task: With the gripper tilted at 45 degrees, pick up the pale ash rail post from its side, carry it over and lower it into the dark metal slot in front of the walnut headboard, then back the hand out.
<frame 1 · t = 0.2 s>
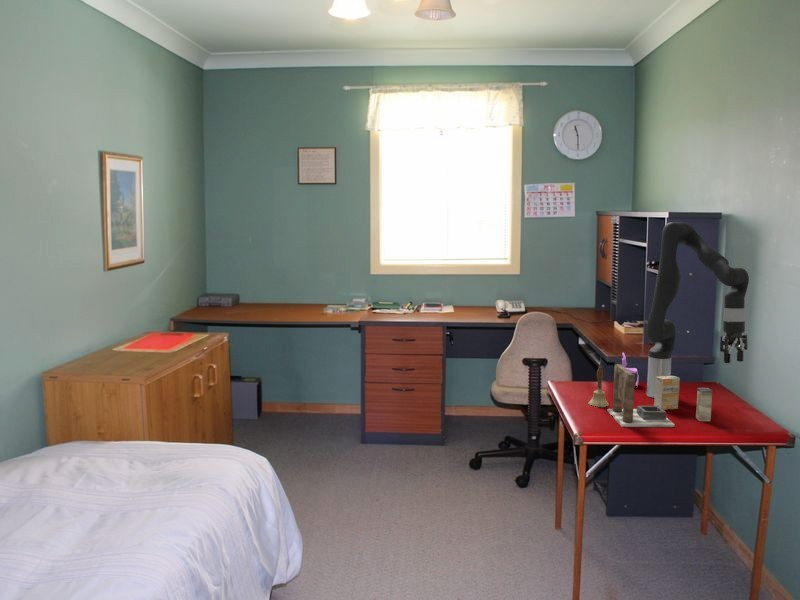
hand: (733, 362, 279), 22 cm above the table, tool pointing down, fingers open, 8 cm apart
toy chair: (628, 385, 333), on the table
rail post: (703, 419, 280), on the table
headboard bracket: (650, 419, 280), on the table
hand bell: (598, 404, 300), on the table
supplement box: (666, 408, 295), on the table
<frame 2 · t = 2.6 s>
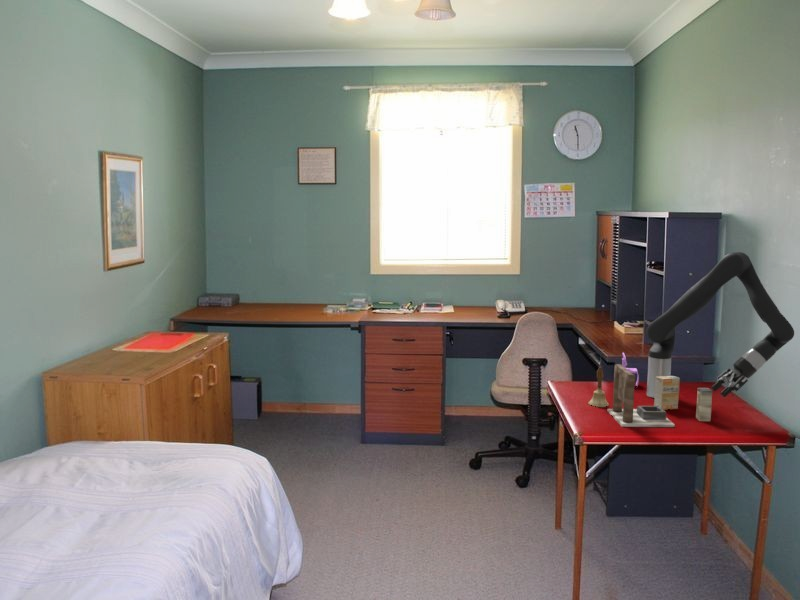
hand: (717, 392, 279), 11 cm above the table, tool tilted 45°, fingers open, 8 cm apart
nothing on the table moved.
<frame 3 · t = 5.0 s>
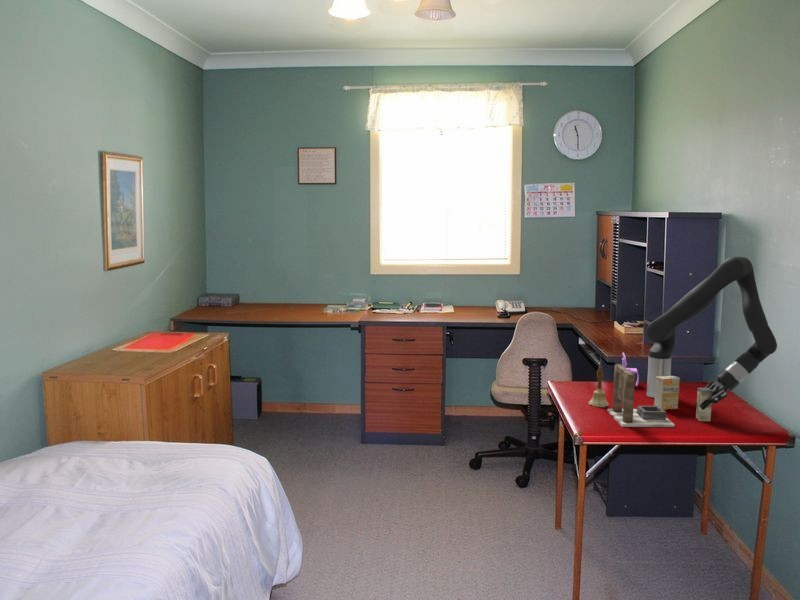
hand: (698, 406, 279), 5 cm above the table, tool tilted 45°, fingers closed on rail post, 4 cm apart
rail post: (703, 419, 280), on the table, touching gripper
everything else where it was.
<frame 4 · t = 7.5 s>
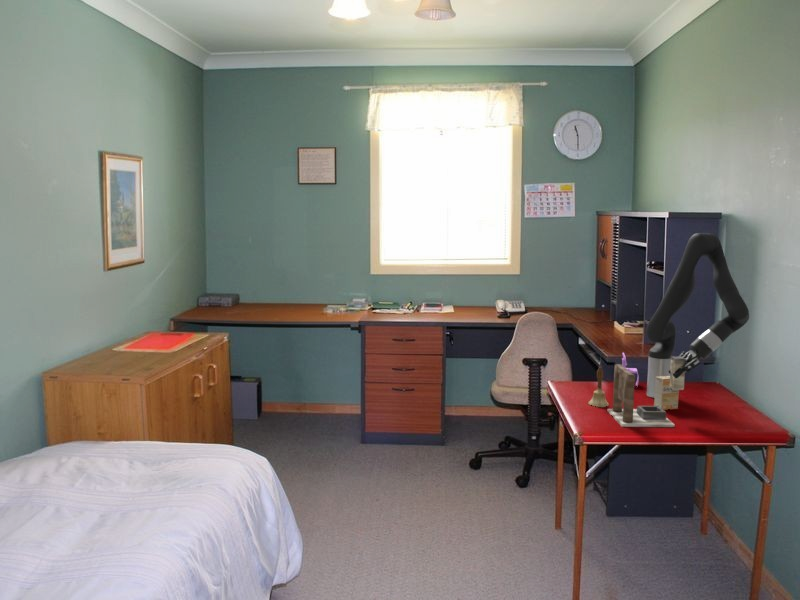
hand: (672, 375, 278), 17 cm above the table, tool tilted 45°, fingers closed on rail post, 4 cm apart
rail post: (676, 388, 279), point 12 cm above the table, touching gripper
everything else where it was.
when the fingers open (8 cm above the table, at t = 10.4 s): rail post drops 1 cm, resting on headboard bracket.
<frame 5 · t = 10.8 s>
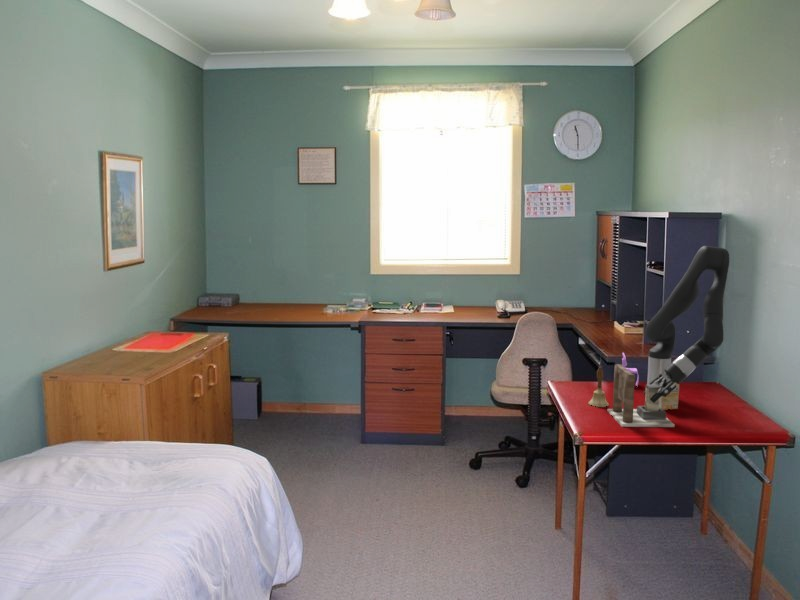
hand: (648, 398, 279), 8 cm above the table, tool tilted 45°, fingers open, 7 cm apart
rail post: (651, 416, 280), point 1 cm above the table, touching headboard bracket
everything else where it was.
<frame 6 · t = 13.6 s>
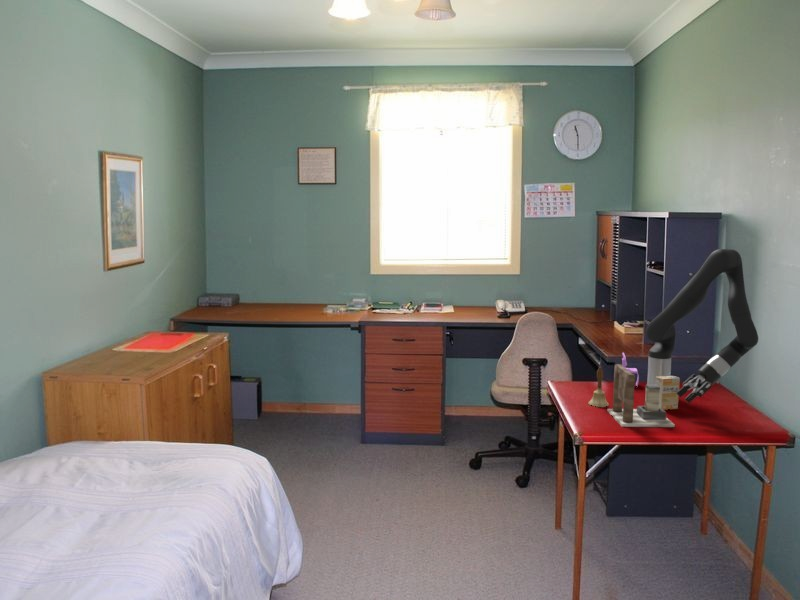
hand: (682, 398, 279), 8 cm above the table, tool tilted 45°, fingers open, 8 cm apart
nothing on the table moved.
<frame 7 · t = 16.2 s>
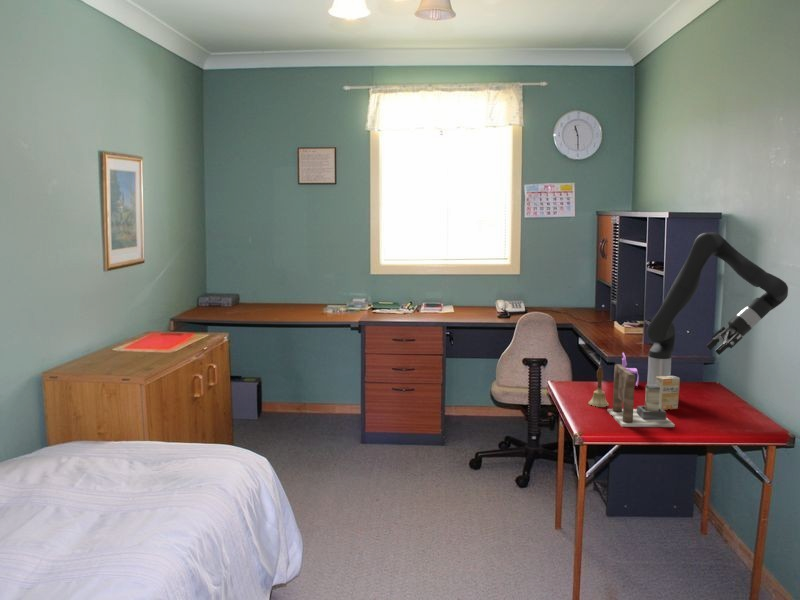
hand: (712, 350, 278), 27 cm above the table, tool tilted 45°, fingers open, 8 cm apart
nothing on the table moved.
at the end: rail post 0.1 cm off-centre on the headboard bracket, point 1.0 cm above the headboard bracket's base; rail post tilted 0°; the gripper is holding nothing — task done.
